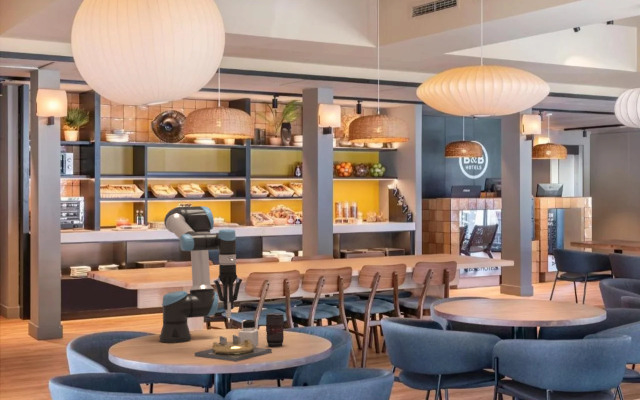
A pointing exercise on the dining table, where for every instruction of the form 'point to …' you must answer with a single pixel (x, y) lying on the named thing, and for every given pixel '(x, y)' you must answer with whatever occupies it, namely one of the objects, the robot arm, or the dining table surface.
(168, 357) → the dining table surface
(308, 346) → the dining table surface
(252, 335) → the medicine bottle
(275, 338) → the camera lens
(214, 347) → the ring nut
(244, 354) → the base plate
